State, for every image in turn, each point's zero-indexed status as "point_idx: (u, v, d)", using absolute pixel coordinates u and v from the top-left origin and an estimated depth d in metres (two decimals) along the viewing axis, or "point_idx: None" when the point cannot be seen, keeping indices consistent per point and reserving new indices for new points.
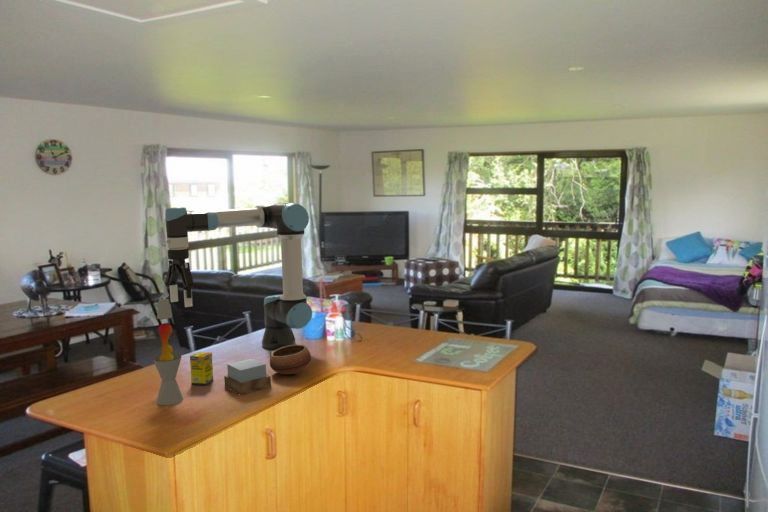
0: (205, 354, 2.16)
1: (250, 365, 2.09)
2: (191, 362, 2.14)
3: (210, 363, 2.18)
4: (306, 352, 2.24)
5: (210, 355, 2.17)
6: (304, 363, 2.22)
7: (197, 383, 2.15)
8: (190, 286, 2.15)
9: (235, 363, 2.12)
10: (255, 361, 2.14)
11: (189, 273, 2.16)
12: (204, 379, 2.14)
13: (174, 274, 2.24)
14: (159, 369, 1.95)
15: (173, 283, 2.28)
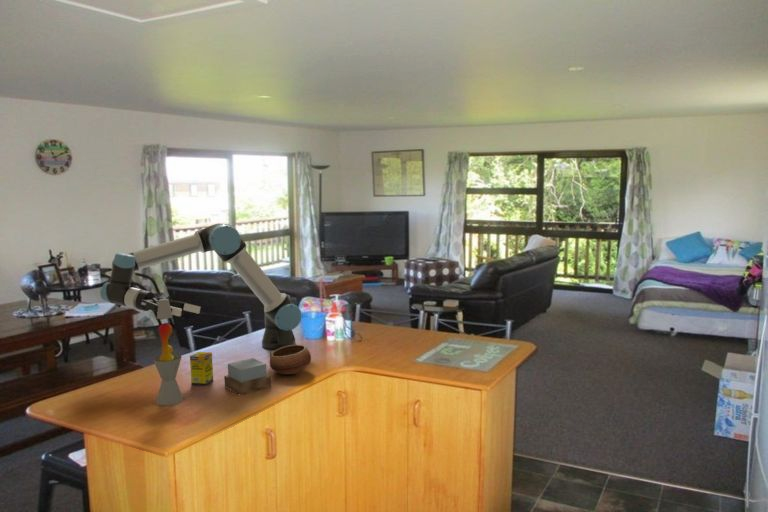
0: (205, 354, 2.16)
1: (250, 365, 2.09)
2: (191, 362, 2.14)
3: (210, 363, 2.18)
4: (306, 352, 2.24)
5: (210, 355, 2.17)
6: (304, 363, 2.22)
7: (197, 383, 2.15)
8: (156, 309, 2.11)
9: (235, 363, 2.12)
10: (255, 361, 2.14)
11: (149, 304, 2.14)
12: (204, 379, 2.14)
13: None
14: (159, 369, 1.95)
15: (183, 305, 2.28)
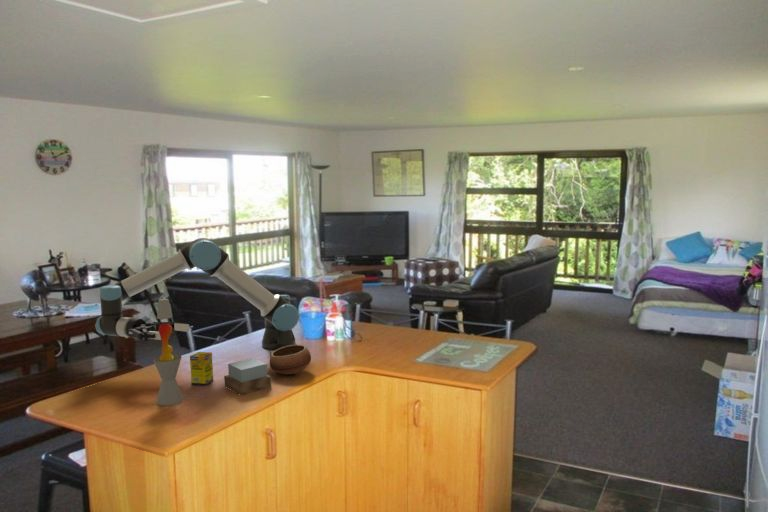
0: (205, 354, 2.16)
1: (251, 365, 2.09)
2: (191, 362, 2.14)
3: (210, 363, 2.18)
4: (306, 352, 2.24)
5: (210, 355, 2.17)
6: (304, 363, 2.22)
7: (197, 383, 2.15)
8: (139, 337, 2.12)
9: (236, 363, 2.12)
10: (256, 361, 2.14)
11: (134, 332, 2.16)
12: (204, 379, 2.14)
13: None
14: (159, 369, 1.95)
15: (174, 325, 2.28)
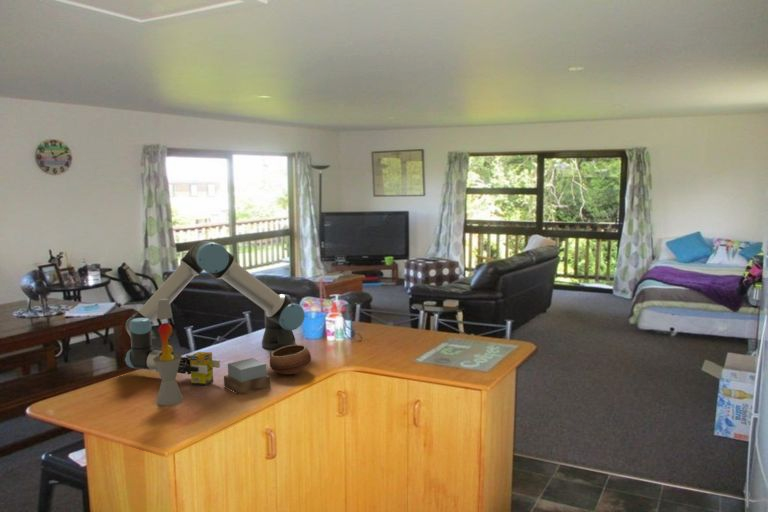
0: (205, 354, 2.16)
1: (250, 365, 2.10)
2: (191, 362, 2.14)
3: (210, 363, 2.18)
4: (306, 352, 2.24)
5: (210, 355, 2.17)
6: (304, 363, 2.22)
7: (197, 383, 2.15)
8: (183, 370, 2.12)
9: (235, 363, 2.12)
10: (255, 361, 2.14)
11: None
12: (204, 379, 2.14)
13: (189, 363, 2.21)
14: (159, 369, 1.95)
15: None
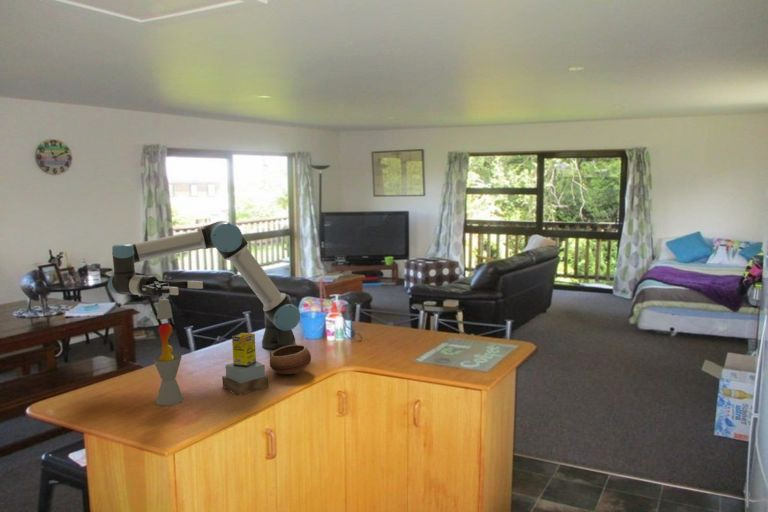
0: (247, 335, 2.09)
1: (249, 366, 2.09)
2: (233, 342, 2.08)
3: (253, 344, 2.11)
4: (306, 352, 2.24)
5: (253, 336, 2.10)
6: (304, 363, 2.22)
7: (239, 364, 2.08)
8: (153, 292, 2.11)
9: None
10: None
11: (148, 288, 2.14)
12: (246, 360, 2.07)
13: (173, 286, 2.25)
14: (159, 369, 1.95)
15: (187, 283, 2.26)
